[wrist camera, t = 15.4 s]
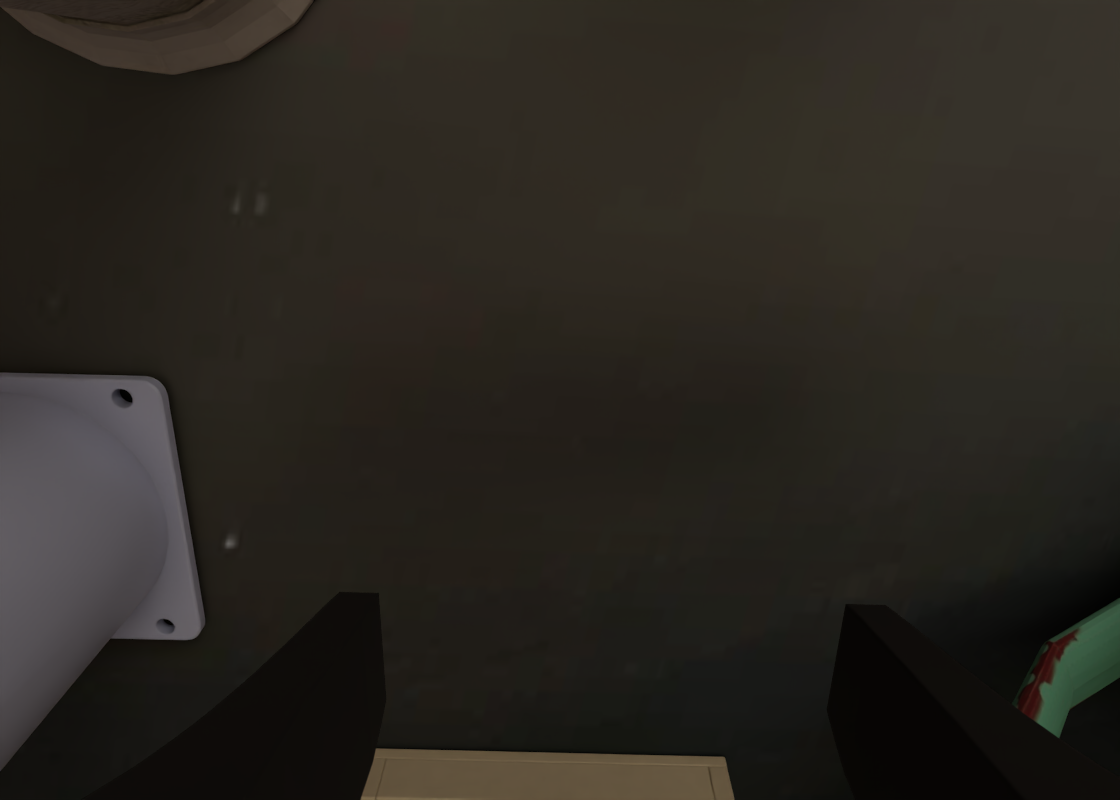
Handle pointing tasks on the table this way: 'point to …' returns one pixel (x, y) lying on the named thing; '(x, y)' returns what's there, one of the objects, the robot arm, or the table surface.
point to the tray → (543, 776)
